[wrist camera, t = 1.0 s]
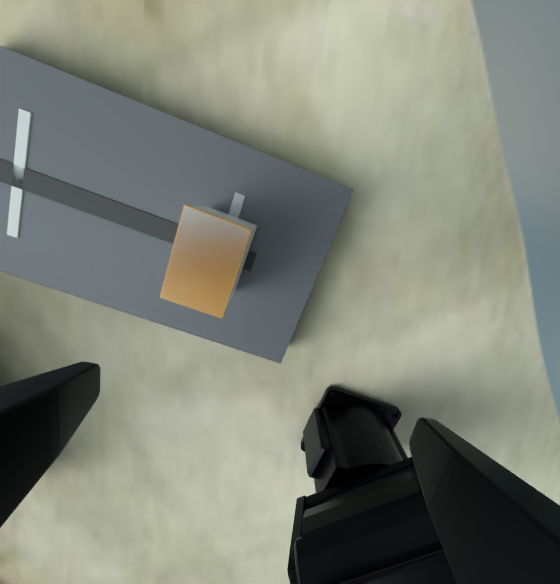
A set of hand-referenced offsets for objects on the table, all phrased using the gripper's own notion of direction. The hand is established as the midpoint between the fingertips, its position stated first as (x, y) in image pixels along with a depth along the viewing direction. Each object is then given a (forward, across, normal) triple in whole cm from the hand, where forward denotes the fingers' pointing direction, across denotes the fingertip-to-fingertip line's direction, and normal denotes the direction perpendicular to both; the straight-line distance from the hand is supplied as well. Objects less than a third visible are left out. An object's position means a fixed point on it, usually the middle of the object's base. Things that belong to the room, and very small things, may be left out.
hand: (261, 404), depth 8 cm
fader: (+10, +3, -2) cm, 11 cm away
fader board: (+13, +8, -3) cm, 16 cm away
